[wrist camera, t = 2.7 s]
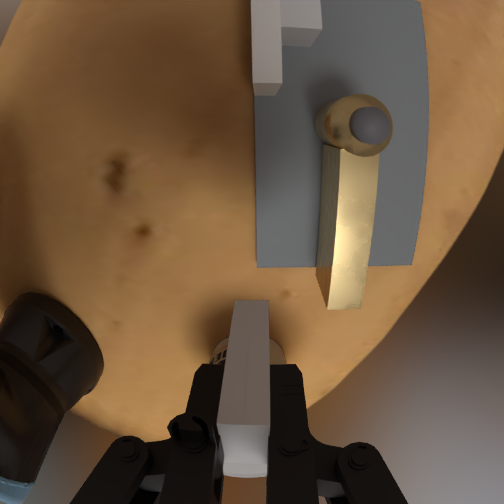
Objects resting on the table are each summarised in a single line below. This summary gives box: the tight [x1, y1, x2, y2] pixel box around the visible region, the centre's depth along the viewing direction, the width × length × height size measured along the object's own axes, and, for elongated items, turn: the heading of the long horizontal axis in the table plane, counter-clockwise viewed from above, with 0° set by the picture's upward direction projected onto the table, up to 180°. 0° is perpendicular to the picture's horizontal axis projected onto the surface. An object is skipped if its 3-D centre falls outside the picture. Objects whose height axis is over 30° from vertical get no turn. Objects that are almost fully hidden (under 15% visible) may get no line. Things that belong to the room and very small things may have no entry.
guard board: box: [251, 0, 429, 268], centre depth 17 cm, size 14×24×8 cm, turn 1°
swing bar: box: [314, 94, 393, 310], centre depth 19 cm, size 14×4×6 cm, turn 1°
